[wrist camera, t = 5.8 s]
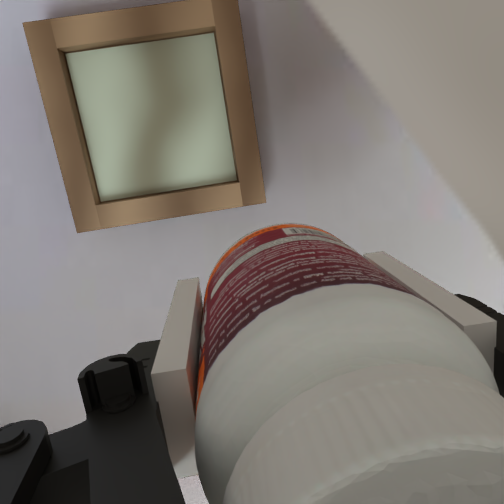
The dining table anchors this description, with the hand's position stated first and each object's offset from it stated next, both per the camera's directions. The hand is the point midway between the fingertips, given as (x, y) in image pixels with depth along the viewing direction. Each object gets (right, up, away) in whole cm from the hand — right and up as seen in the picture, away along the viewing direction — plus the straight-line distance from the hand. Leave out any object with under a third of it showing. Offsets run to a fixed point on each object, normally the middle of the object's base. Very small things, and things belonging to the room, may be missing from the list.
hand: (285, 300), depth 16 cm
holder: (-7, +10, +12) cm, 18 cm away
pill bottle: (0, 0, +1) cm, 1 cm away
